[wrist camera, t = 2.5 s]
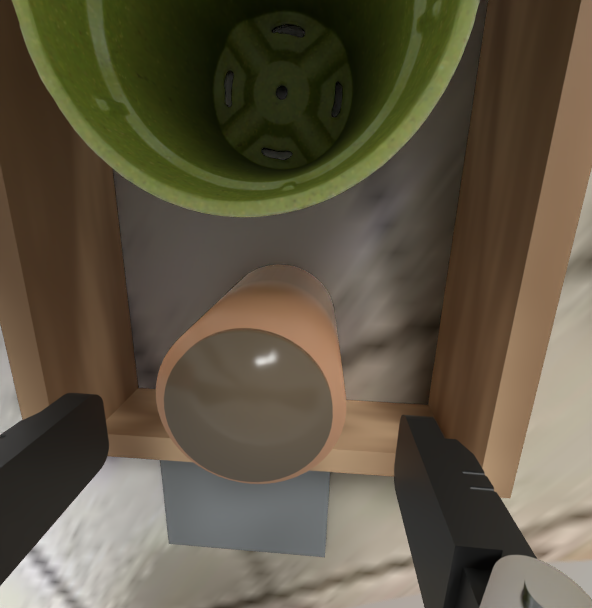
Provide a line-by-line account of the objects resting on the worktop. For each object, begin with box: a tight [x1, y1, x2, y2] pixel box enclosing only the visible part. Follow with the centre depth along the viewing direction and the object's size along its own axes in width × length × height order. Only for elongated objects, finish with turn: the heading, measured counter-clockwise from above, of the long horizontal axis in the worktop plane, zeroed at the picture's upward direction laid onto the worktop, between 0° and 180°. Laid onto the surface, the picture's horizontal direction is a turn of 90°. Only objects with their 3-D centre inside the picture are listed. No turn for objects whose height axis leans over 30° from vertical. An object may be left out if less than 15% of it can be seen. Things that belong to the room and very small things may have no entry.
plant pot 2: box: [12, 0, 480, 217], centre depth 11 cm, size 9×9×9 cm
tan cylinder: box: [156, 264, 346, 484], centre depth 14 cm, size 6×6×8 cm
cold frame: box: [0, 0, 592, 498], centre depth 12 cm, size 18×22×8 cm
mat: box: [160, 460, 330, 557], centre depth 21 cm, size 10×8×1 cm
